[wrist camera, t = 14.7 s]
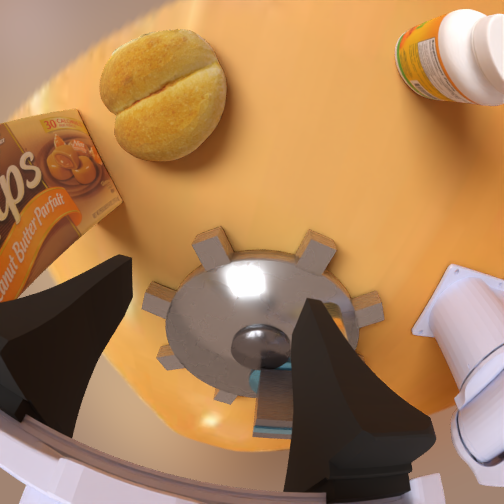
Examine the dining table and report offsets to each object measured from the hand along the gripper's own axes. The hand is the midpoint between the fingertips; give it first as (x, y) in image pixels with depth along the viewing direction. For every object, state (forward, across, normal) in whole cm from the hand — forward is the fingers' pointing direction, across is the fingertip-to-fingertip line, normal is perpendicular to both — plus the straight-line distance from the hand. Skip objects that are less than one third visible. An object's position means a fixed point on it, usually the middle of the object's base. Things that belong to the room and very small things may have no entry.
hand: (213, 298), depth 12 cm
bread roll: (+11, +7, -7) cm, 15 cm away
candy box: (+11, +13, -1) cm, 17 cm away
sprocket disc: (+10, -4, +11) cm, 16 cm away
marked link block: (+8, -7, +15) cm, 19 cm away
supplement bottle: (+11, -10, -14) cm, 20 cm away
